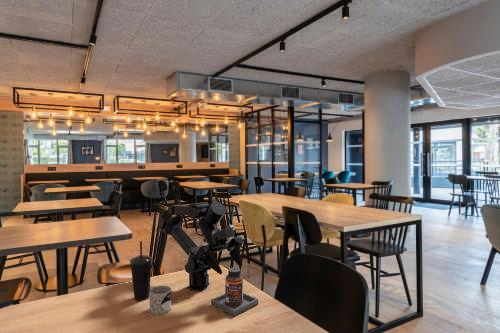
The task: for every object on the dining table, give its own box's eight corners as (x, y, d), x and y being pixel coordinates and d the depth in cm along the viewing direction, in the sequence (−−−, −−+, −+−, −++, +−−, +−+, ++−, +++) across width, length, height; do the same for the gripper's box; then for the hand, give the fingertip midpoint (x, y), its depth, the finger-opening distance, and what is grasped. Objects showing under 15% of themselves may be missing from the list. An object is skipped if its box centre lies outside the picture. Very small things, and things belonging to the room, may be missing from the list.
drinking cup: (156, 293, 115) (155, 238, 114) (147, 303, 107) (146, 244, 106) (136, 292, 116) (135, 238, 115) (126, 302, 108) (125, 244, 107)
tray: (210, 304, 106) (210, 299, 106) (235, 294, 114) (235, 289, 114) (234, 316, 98) (234, 311, 98) (258, 304, 106) (258, 298, 106)
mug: (165, 316, 99) (165, 295, 99) (145, 314, 100) (145, 293, 100) (178, 301, 109) (178, 282, 108) (160, 299, 110) (160, 280, 110)
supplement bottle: (227, 307, 102) (226, 273, 102) (223, 299, 108) (223, 267, 108) (245, 305, 104) (244, 271, 104) (240, 297, 110) (240, 265, 109)
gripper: (199, 222, 103) (222, 264, 96) (240, 214, 116) (262, 250, 109) (185, 242, 108) (205, 282, 101) (225, 232, 122) (246, 267, 115)
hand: (231, 270), depth 107 cm, fingers open, 9 cm apart
